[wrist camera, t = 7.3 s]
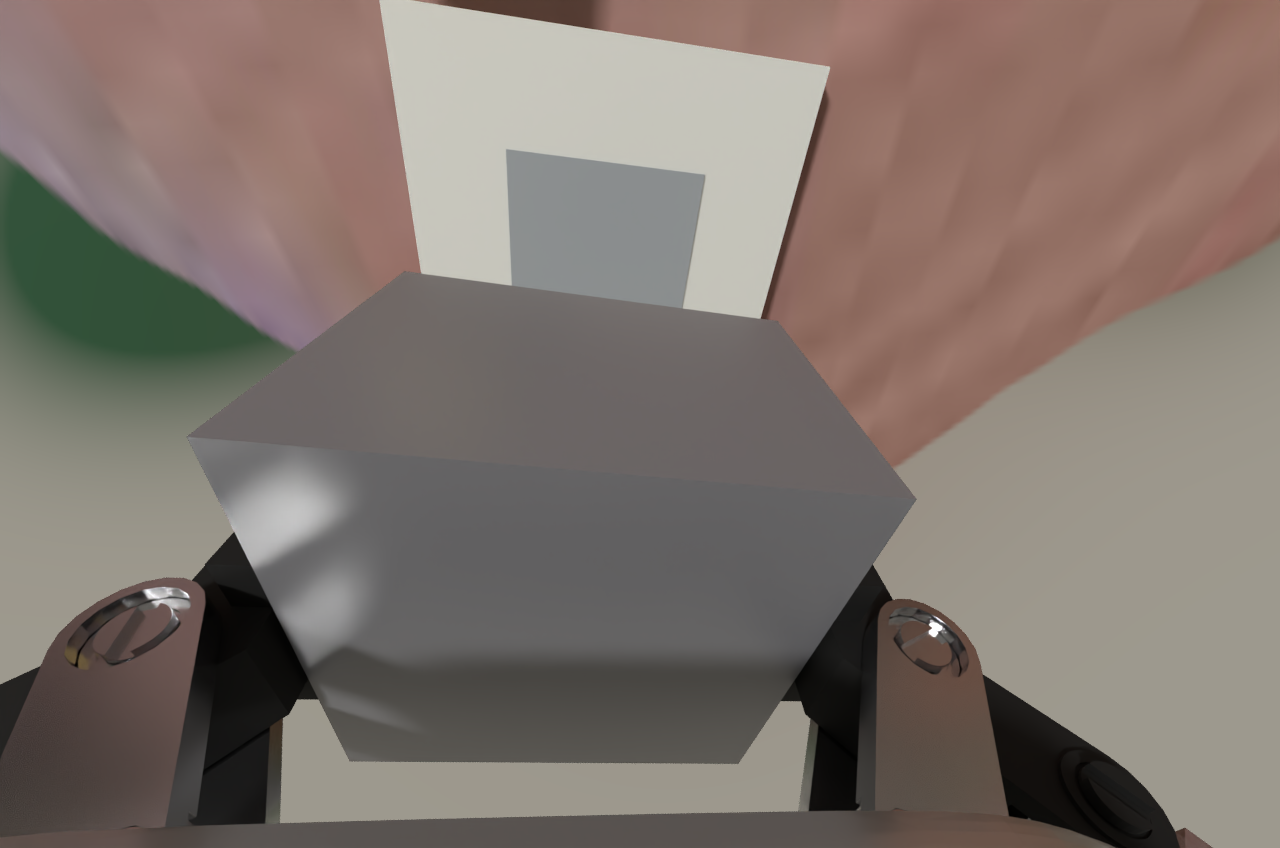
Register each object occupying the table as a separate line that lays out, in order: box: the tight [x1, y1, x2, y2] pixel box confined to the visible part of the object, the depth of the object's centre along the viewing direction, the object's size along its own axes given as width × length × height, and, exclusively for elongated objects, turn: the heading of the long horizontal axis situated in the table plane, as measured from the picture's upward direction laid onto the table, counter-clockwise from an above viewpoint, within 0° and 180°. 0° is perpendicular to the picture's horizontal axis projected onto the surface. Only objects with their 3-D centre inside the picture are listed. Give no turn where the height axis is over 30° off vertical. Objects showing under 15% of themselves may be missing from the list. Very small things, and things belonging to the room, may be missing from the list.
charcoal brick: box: [187, 271, 916, 764], centre depth 8 cm, size 7×7×5 cm
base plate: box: [380, 0, 830, 319], centre depth 24 cm, size 18×18×1 cm
